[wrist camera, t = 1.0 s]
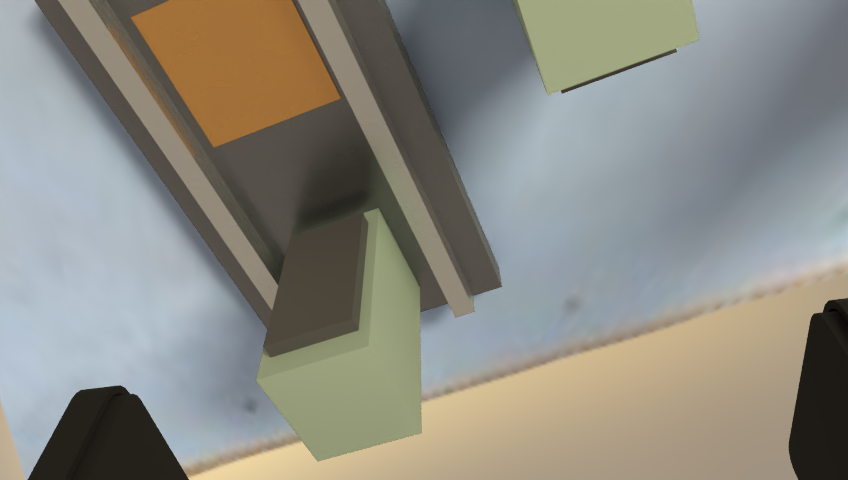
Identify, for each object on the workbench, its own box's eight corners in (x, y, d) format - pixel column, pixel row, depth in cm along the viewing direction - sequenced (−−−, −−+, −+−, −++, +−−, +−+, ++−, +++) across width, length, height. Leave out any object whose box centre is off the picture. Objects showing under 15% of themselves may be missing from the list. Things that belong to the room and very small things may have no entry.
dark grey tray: (323, -142, 26) (315, -131, 23) (498, 268, 36) (504, 302, 34) (48, -15, 28) (17, 7, 26) (289, 334, 39) (281, 370, 37)
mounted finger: (373, 197, 32) (361, 334, 25) (419, 287, 35) (421, 433, 28) (284, 228, 33) (247, 369, 26) (337, 313, 36) (317, 461, 29)
